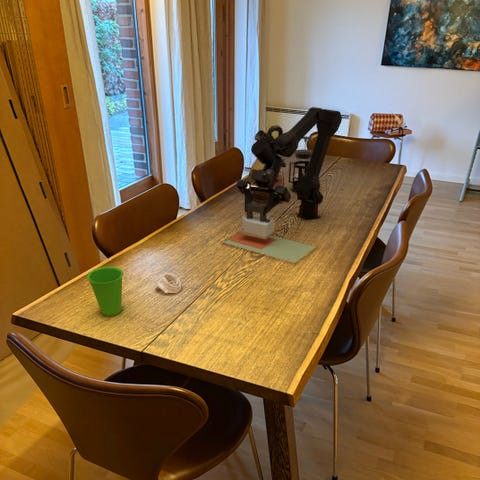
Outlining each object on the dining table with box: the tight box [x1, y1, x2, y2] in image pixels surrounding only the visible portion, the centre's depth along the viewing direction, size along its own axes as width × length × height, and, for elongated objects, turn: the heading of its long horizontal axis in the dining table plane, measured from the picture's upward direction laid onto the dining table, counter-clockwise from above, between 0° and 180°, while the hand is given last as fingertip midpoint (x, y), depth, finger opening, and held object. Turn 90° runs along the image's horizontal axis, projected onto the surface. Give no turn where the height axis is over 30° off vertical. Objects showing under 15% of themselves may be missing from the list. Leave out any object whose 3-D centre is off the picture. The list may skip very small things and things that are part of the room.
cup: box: [86, 266, 124, 317], centre depth 123 cm, size 9×9×11 cm
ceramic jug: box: [247, 124, 285, 204], centre depth 195 cm, size 17×15×30 cm
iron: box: [237, 202, 276, 239], centre depth 161 cm, size 11×6×10 cm, turn 59°
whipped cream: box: [155, 272, 182, 294], centre depth 135 cm, size 8×7×5 cm
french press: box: [288, 135, 313, 193], centre depth 208 cm, size 12×9×23 cm
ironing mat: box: [223, 233, 317, 264], centre depth 162 cm, size 28×15×1 cm, turn 56°
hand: (254, 213), depth 158 cm, fingers closed on iron, 7 cm apart
